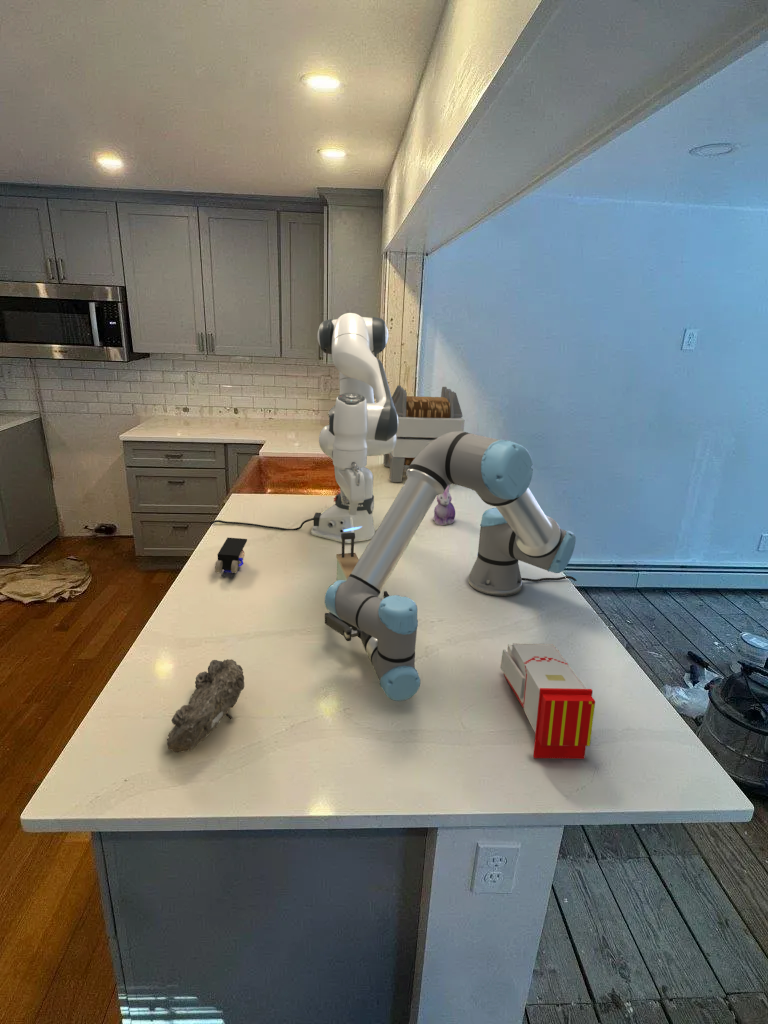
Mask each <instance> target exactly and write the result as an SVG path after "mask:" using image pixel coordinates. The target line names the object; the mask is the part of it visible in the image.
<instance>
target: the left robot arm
mask: <svg viewBox="0 0 768 1024" xmlns="http://www.w3.org/2000/svg"><path fill="white" fill-rule="evenodd" d="M387 326H388V325H387V324H386V321H385V320H384V319H383V318H381V317H376V316H372V317H368V316H367V317H366V316H361V315H359V314H358V313H354V312H345V313H343V314H341V315H340V316H338V318H336V319H332V318H329V319H326V320H324V321H323V320H322V322H321V323H320V324H319V328H318V330H317V336H316V337H317V342H318V346H319V347H320V350H321V351H322V352H323V353H324V354H328V355H331V358H332V359H331V361H332V363H333V366H334V367H335V368H336V370H337V371H338V387H339V395H338V396H337V397H336V398H335V399H336V400H335V404H334V405H333V406H332V407H331V408H330V409H329V410H328V424H327V425H324V427H322V429H321V430H320V432H319V435H318V444H319V447H320V450H321V451H322V452H323V454H325V455H326V456H327V457H329V458H330V459H331V460H332V465H333V469H334V478H335V482H336V483H337V485H338V486H339V491H338V492H337V494H336V495H335V496H334V497H333V502H334V504H333V505H331V506H329V507H328V508H326V509H325V510H323V512H315V513H314V515H313V517H312V518H309V519H305V520H304V521H302V522H301V524H300V526H297V527H295V528H287V527H279V526H271V525H265V524H258V523H252V522H251V523H249V522H241V521H226V520H221V519H220V520H219V519H216V520H213V521H211V522H210V523H209V525H214V524H216V523H220V524H226V525H241V526H251V527H257V528H263V529H270V530H271V529H272V530H280V531H298V530H301V529H302V528H303V526H304V525H305V524H306V523H308V522H311V521H312V523H313V524H312V528H311V530H310V533H311V536H315V537H319V538H323V539H326V540H330V541H336V542H339V543H342V539H341V533H355V539H354V543H357V542H365V541H368V540H371V539H372V537H373V535H374V534H375V532H376V528H375V523H374V513H373V512H374V509H375V496H374V474H373V472H372V471H371V469H369V468H368V467H366V466H367V465H368V457H380V456H384V454H388V453H391V452H392V451H393V449H394V448H395V445H396V441H397V438H396V433H397V429H398V415H397V412H396V409H395V406H394V404H393V401H392V393H391V390H390V385H389V383H388V378H387V374H386V370H385V367H384V365H383V363H382V361H381V360H380V359H379V358H378V357H377V356H378V354H380V353H382V352H383V351H384V350H385V348H386V347H387V343H388V341H389V329H388V327H387ZM345 544H351V539H348V540H345Z"/></svg>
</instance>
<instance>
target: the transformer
mask: <svg viewBox="0 0 768 1024" xmlns="http://www.w3.org/2000/svg"><path fill="white" fill-rule="evenodd" d="M440 393H441V394H440V396H415V395H414V396H413V395H412V396H411V395H407V394H408V393H407V390H406V389H404V388H403V387H402V385H399V384H398V385H397V386H396V388H395V390H394V392H393V394H392V395H391V397H392V401H393V404H394V406H395V409H396V412H397V415H398V429H397V433H396V438H397V441H396V445H395V448H394V449H393V451H392V452H391V453H388V454H384V455H383V466H384V467H388V468H389V475H388V476H389V477H388V478H389V480H390V482H391V483H402V482H403V475H404V469H405V466H406V467H407V466H408V467H409V466H410V464H411V463H412V461H413V460H414V459H415V457H416V456H417V455H418V454H419V453H420V452H421V451H422V450H423V449H424V448H425V447H426V446H427V445H428V444H429V443H431V442H432V441H433V440H435V439H436V438H438V437H440V436H442V435H444V434H447V433H450V432H455V431H462V432H465V430H464V429H465V419H464V418H463V411H462V408H461V405H460V402H459V398H458V395H457V392H455V391H453V390H452V389H451V388H447V386H442V387H441V392H440Z"/></svg>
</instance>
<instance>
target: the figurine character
mask: <svg viewBox="0 0 768 1024" xmlns="http://www.w3.org/2000/svg"><path fill="white" fill-rule="evenodd" d="M247 542H248V538H240V537H226V539H225V541H224V543H223V544H222V546H221V547H220V549H219V551H218V552H217V560H216V562H215V564H214V572H215V573H221V577H222V578H224V577H225V576H226V574H227V573H230V574H231V573H232V574H231V578H234V577H235V575H236V573H237V572H239V571H240V567H242V566H243V565H244V564H245V562H244V558H245V551H244V547H245V546H246V544H247Z"/></svg>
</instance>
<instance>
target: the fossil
mask: <svg viewBox="0 0 768 1024" xmlns="http://www.w3.org/2000/svg"><path fill="white" fill-rule="evenodd" d="M243 670H244V669H243V667H242V665H240V664H237V662H236V661H235V660H234V659H232V658H231V659H227V658H226V659H224V660H223V661H222V660H217V659H212V660H211V661H210V663H209V665H208V666H207V671H201V672H199V673H198V674H197V675H196V676H195V680H194V684H195V685H194V687H195V689H194V690H193V693H192V694H191V697H190V698H189V700H188V704H184V705H182V706H181V707H180V709H177V710H176V711H175V713H174V715H173V716H172V718H171V723H172V724H173V727H172V730H171V731H170V732H168V734H167V738H166V741H167V742H166V745H167V749H168V750H169V751H173V752H174V753H176V754H178V753H182V752H188V751H189V752H192V751H193V750H195V748H196V747H197V746H199V744H200V743H201V742H203V741H204V740H205V739H206V738H207V737H208V736H209V735H210V734H211V733H212V732H214V730H215V729H217V727H218V726H219V724H220V722H221V721H222V720H223V719H224V718H225V716H226V717H227V719H229V720H233V717H232V715H230V714H229V710H230V709H231V708H234V706H235V704H236V703H237V702H238V699H239V697H240V695H241V693H242V691H243V690H245V689H244V688H245V675H244V671H243Z"/></svg>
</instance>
